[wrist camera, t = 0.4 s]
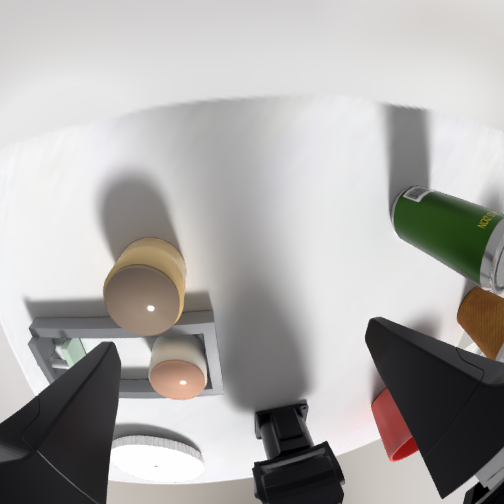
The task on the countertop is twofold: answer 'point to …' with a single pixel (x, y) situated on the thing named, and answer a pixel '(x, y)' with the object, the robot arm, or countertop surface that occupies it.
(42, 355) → the lane
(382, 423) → the flower pot
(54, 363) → the pusher
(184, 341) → the cream jar
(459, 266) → the beer can
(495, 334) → the disposable coffee cup
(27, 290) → the countertop surface
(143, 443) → the plastic lid
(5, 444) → the robot arm
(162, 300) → the amber jar
